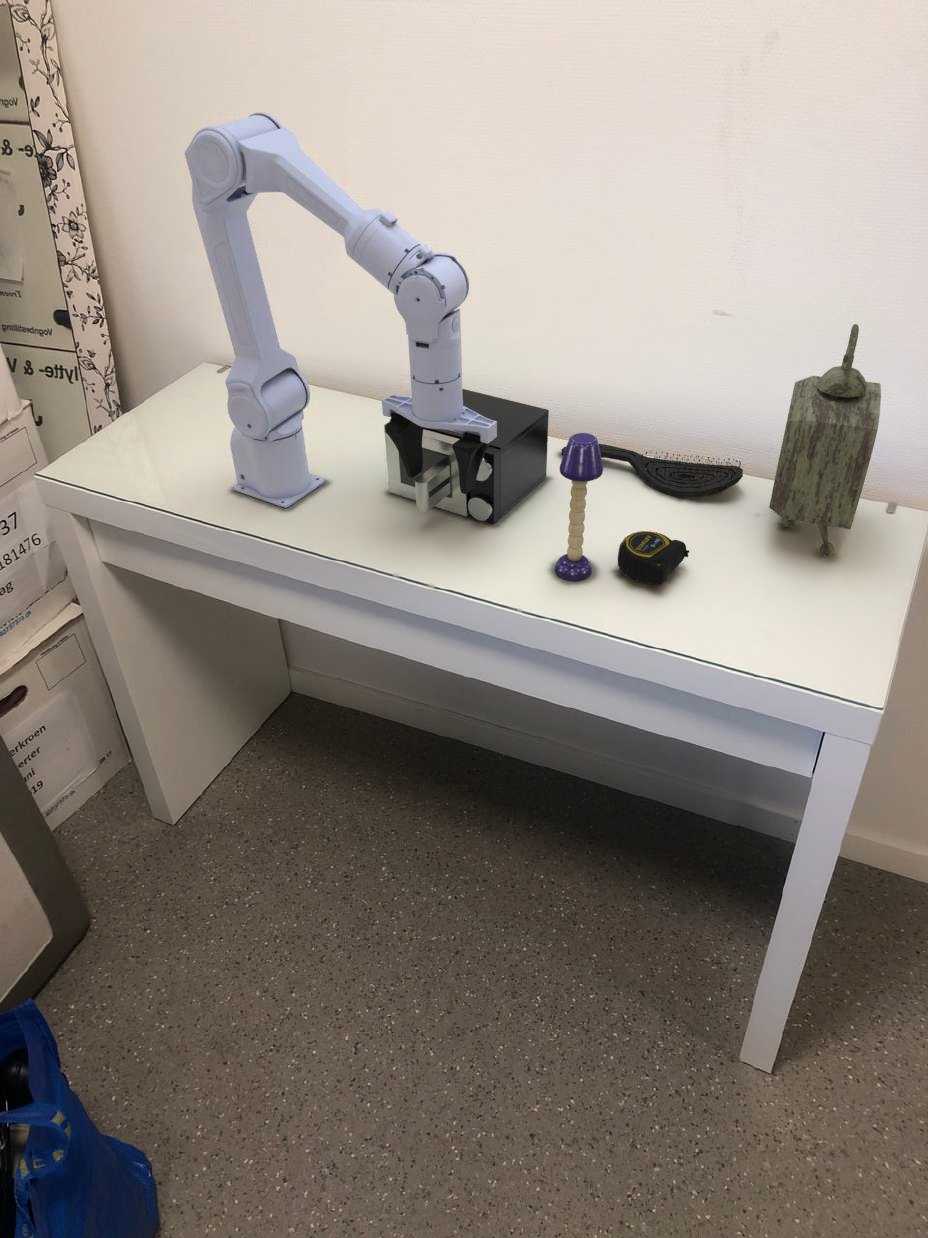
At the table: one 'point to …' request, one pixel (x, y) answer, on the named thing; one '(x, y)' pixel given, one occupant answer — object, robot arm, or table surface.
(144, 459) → the table surface
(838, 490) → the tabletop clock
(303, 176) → the robot arm
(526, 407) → the microwave
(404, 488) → the microwave door
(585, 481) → the toy lamp
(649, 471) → the hairbrush
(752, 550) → the table surface
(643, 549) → the tape measure
